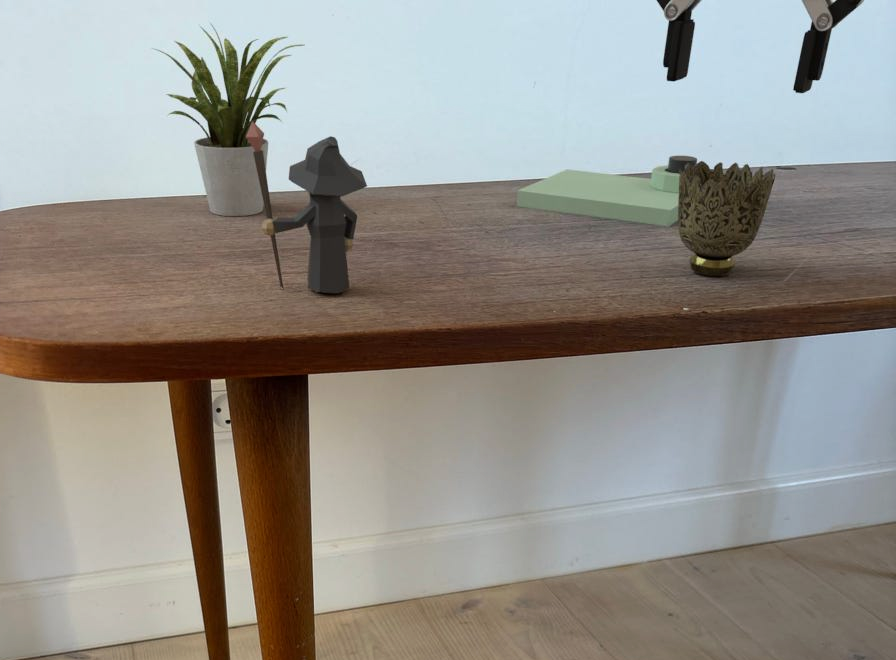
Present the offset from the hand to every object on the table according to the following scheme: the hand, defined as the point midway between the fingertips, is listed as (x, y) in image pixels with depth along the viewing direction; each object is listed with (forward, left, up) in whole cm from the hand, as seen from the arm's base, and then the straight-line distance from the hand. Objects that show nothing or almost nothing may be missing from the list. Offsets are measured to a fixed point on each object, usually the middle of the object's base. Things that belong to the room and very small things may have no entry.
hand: (737, 85), depth 80 cm
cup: (0, 0, -14) cm, 14 cm away
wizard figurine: (+25, +22, -14) cm, 36 cm away
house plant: (+46, +2, -14) cm, 48 cm away
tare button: (+10, -24, -11) cm, 28 cm away
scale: (+16, -20, -14) cm, 29 cm away
